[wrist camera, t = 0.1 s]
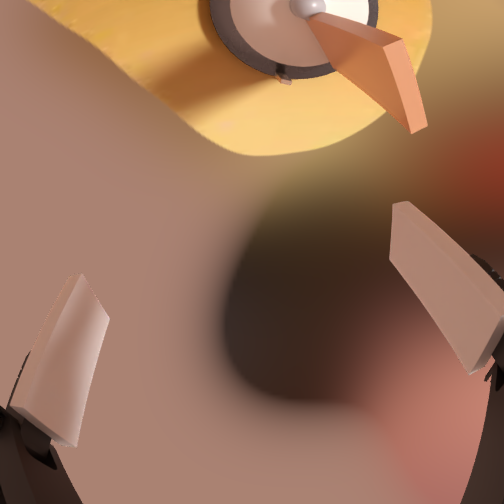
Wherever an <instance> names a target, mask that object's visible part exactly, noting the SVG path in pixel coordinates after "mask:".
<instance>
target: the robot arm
mask: <svg viewBox="0 0 504 504" xmlns="http://www.w3.org/2000/svg"><path fill="white" fill-rule="evenodd" d="M389 259H390V261H391V262H392V263H393V265H394V266H395V267H396V269H397V270H398V271H399V272H400V274H401V275H402V276H403V278H404V279H405V280H406V282H407V283H408V284H409V286H410V287H411V289H412V290H413V291H414V292H415V294H416V295H417V297H418V298H419V300H420V301H421V302H422V304H423V305H424V306H425V308H426V309H427V311H428V312H429V314H430V315H431V317H432V318H433V319H434V321H435V323H436V324H437V326H438V327H439V328H440V330H441V332H442V333H443V335H444V336H445V338H446V339H447V341H448V342H449V344H450V345H451V347H452V349H453V350H454V352H455V353H456V355H457V357H458V358H459V360H460V361H461V363H462V365H463V366H464V368H465V370H466V372H467V373H468V375H470V374H472V373H473V372H475V371H477V370H479V369H481V368H482V367H484V366H485V365H486V363H487V362H488V360H489V359H490V357H491V355H492V356H493V358H494V359H495V363H494V364H493V366H492V367H491V369H490V370H489V372H488V373H487V375H486V376H485V380H484V381H487V380H488V379H489V377H490V376H491V374H492V378H491V381H490V382H491V386H490V394H489V401H488V406H487V412H486V417H485V422H484V428H483V432H482V436H481V441H480V445H479V448H478V452H477V456H476V459H475V463H474V466H473V469H472V473H471V476H470V479H469V482H468V485H467V487H466V490H465V493H464V496H463V498H462V501H461V503H460V504H504V280H503V279H501V277H500V276H499V275H498V273H497V272H494V269H493V268H492V267H491V266H490V265H489V264H488V263H487V262H486V261H485V260H483V259H481V258H479V257H477V256H476V255H474V254H472V255H468V254H467V253H466V252H465V251H464V250H463V249H462V248H461V247H460V246H459V245H458V244H457V243H456V242H455V241H454V240H453V239H452V238H450V237H449V236H448V235H447V234H446V233H445V232H444V231H443V230H442V229H440V228H439V227H438V226H437V225H436V224H435V223H434V222H433V221H431V220H430V219H429V218H428V217H427V216H426V215H424V214H423V213H422V212H421V211H420V210H418V209H417V208H416V207H415V206H414V205H412V204H411V203H410V202H409V201H405V202H400V203H395V204H393V212H392V231H391V246H390V258H389ZM109 320H110V318H109V317H108V315H107V313H106V312H105V310H104V309H103V307H102V306H101V304H100V302H99V301H98V299H97V298H96V296H95V294H94V293H93V291H92V289H91V287H90V286H89V284H88V282H87V280H86V279H85V277H84V275H83V273H80V274H76V275H72V276H69V278H68V279H67V281H66V283H65V285H64V286H63V288H62V290H61V292H60V294H59V295H58V297H57V299H56V301H55V303H54V305H53V307H52V309H51V310H50V312H49V314H48V316H47V318H46V320H45V322H44V324H43V326H42V328H41V330H40V333H39V334H38V337H37V339H36V341H35V343H34V346H33V348H32V350H31V351H30V352H29V354H28V355H27V356H26V358H25V361H24V363H23V365H22V370H20V373H19V375H18V377H19V378H17V380H16V383H15V385H14V388H13V390H12V393H11V396H10V399H9V402H8V405H7V407H6V410H5V409H4V408H3V407H1V406H0V504H83V503H82V501H81V500H80V498H79V496H78V494H77V492H76V491H75V489H74V487H73V485H72V483H71V481H70V479H69V477H68V475H67V473H66V471H65V469H64V467H63V465H62V463H61V460H60V458H59V456H58V454H57V451H56V450H55V448H54V447H53V446H52V445H51V444H50V441H51V438H52V439H53V440H55V441H56V442H57V443H59V444H60V445H62V446H69V447H77V443H78V437H79V432H80V427H81V423H82V418H83V413H84V409H85V405H86V400H87V396H88V392H89V388H90V384H91V381H92V377H93V373H94V369H95V366H96V362H97V359H98V355H99V352H100V349H101V345H102V342H103V339H104V335H105V332H106V329H107V326H108V323H109Z"/></svg>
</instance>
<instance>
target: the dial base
mask: <svg viewBox="0 0 504 504" xmlns="http://www.w3.org/2000/svg"><path fill="white" fill-rule="evenodd" d="M368 4H369V15H368V21H367V25H368V26H371V27H374V28H376V24H377V19H378V0H368ZM210 13H211V17H212V21H213V24H214V26H215V29H216V31H217V33H218V35H219V37H220V38H221V40H222V41H223V43H224V44H225V45H226V46H227V48H228V49H229V50H230V51H231V52H232V53H233V54H234V55H235V56H236V57H237V58H239V59H240V60H241V61H243V62H244V63H246V64H247V65H249V66H251V67H252V68H254V69H256V70H258V71H261V72H263V73H266V74H269V75H273V76H275V77H276V78H277V80H278V81H279V82H280V83H282V84H287V85H291V83H292V81H291V79H308V78H315V77H319V76H323V75H327V74H330V73H332V72H335V71H336V70H335V69H334V68H333V67H332V66H331V64H330V62H328V63H325V64H321V65H316V66H307V67H301V66H291V65H285V64H282V63H278V62H276V61H273V60H270V59H269V58H267V57H265V56H263V55H261V54H260V53H258V52H257V51H256V50H254V49H253V48H252V47H251V46H250V45H249V44H248V43H247V42H246V41H245V40H244V39H243V37H242V36H241V35H240V33H239V32H238V30H237V28H236V26H235V24H234V22H233V19H232V16H231V10H230V0H210Z"/></svg>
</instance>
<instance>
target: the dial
mask: <svg viewBox="0 0 504 504" xmlns="http://www.w3.org/2000/svg"><path fill="white" fill-rule="evenodd" d="M230 10H231V16H232V19H233V22H234V24H235V26H236V28H237V30H238V32H239V33H240V35H241V36H242V37H243V39H244V40H245V41H246V42H247V43H248V44H249V45H250V46H251V47H252V48H253V49H254V50H256V51H257V52H258V53H260V54H261V55H263V56H265V57H267V58H269V59H270V60H273V61H276V62H278V63H282V64H285V65H291V66H301V67H307V66H316V65H321V64H325V63H328V62H330V64H331V66H332V67H333V68H334V69H335V70H336V71H338V72H339V73H340V74H342V75H343V76H344V77H346V78H347V79H348V80H350V81H351V82H352V83H354V84H355V85H356V86H357V87H359V88H360V89H361V90H362V91H364V92H365V93H366V94H367V95H369V96H370V97H371V98H372V99H373V100H374V101H376V102H377V103H378V104H379V105H380V106H381V107H383V108H384V109H385V110H386V111H387V112H388V113H390V115H392V116H393V117H394V118H395V119H396V120H397V121H398V122H399V123H400V124H401V125H402V126H403V127H404V128H406V129H407V130H408V131H409V132H410V133H411V134H413V133H415V132H416V131H418V130H420V129H422V128H424V127H426V126H427V121H426V116H425V112H424V107H423V103H422V99H421V95H420V92H419V88H418V84H417V81H416V77H415V74H414V71H413V68H412V64H411V61H410V58H409V55H408V52H407V49H406V47H405V44H404V41H403V39H402V38H399V37H397V36H395V35H392V34H390V33H387V32H385V31H382V30H379V29H377V28H374V27H371V26H368V25H367V21H368V15H369V4H368V0H230Z"/></svg>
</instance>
